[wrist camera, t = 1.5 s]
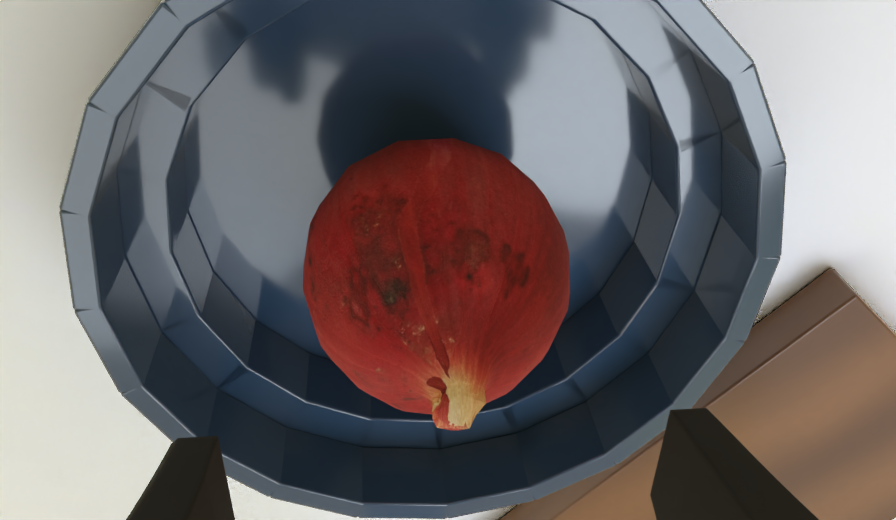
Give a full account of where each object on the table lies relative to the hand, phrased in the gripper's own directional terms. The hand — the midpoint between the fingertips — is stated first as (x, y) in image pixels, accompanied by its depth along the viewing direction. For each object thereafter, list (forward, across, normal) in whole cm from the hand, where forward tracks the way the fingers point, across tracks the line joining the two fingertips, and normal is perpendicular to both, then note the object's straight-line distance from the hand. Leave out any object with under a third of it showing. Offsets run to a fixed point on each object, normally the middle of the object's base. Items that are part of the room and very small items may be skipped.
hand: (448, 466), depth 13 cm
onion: (+10, 0, 0) cm, 10 cm away
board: (+9, -10, +13) cm, 19 cm away
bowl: (+10, 0, 0) cm, 10 cm away
